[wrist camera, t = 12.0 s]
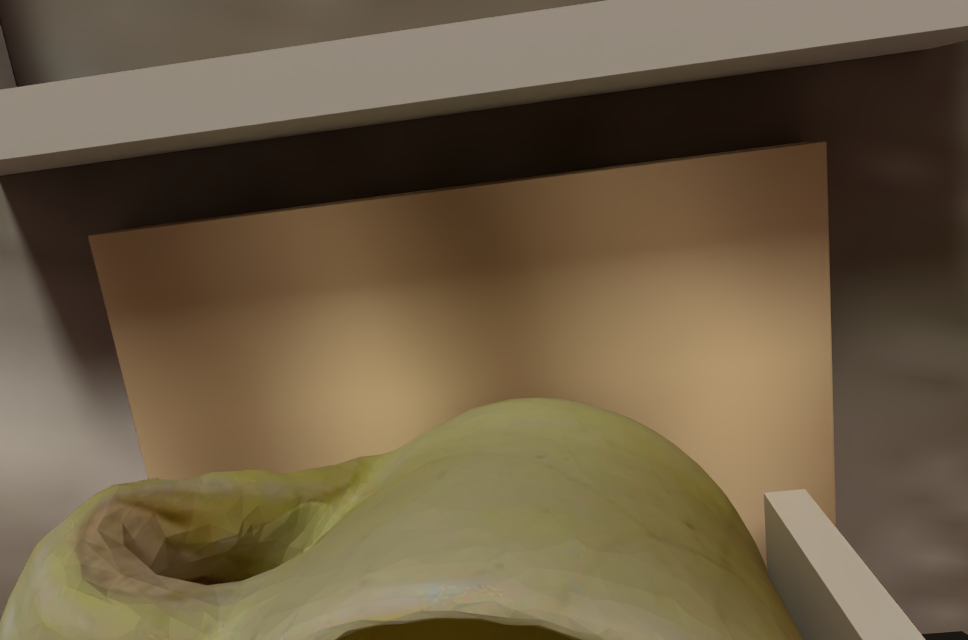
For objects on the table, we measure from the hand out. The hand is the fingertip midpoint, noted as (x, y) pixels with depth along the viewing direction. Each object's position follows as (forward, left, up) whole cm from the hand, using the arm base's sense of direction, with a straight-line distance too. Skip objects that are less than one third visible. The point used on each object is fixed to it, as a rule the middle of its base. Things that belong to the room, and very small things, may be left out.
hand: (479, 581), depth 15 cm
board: (0, 0, -3) cm, 3 cm away
